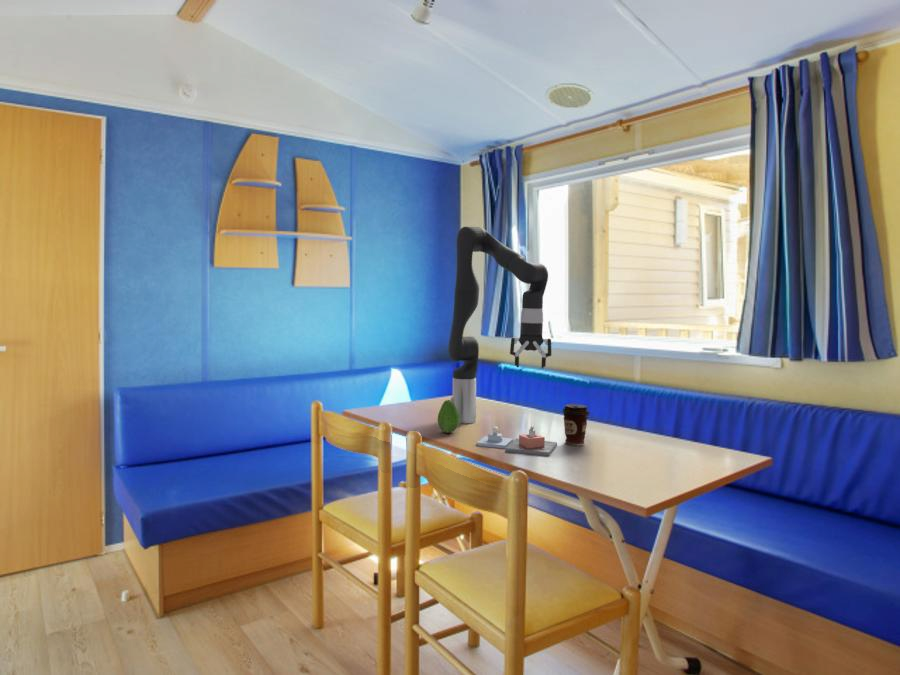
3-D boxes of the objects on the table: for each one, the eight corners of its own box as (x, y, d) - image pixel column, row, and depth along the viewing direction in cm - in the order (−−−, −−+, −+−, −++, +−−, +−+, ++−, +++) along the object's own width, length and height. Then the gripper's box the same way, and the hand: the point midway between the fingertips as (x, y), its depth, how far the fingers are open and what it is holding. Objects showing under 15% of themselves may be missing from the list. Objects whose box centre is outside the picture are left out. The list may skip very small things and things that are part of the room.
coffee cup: (572, 447, 201) (573, 408, 200) (556, 442, 209) (557, 404, 208) (592, 445, 205) (593, 406, 204) (576, 439, 213) (577, 402, 212)
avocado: (442, 435, 217) (442, 402, 216) (434, 431, 224) (434, 398, 223) (463, 434, 220) (463, 400, 219) (454, 429, 227) (455, 397, 226)
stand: (476, 445, 203) (476, 429, 203) (485, 438, 213) (485, 423, 212) (505, 448, 200) (505, 431, 200) (513, 441, 209) (513, 425, 209)
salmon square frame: (528, 448, 196) (528, 438, 196) (518, 443, 201) (519, 434, 201) (544, 446, 198) (544, 437, 198) (534, 442, 204) (534, 433, 204)
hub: (505, 451, 196) (505, 429, 195) (516, 441, 209) (516, 420, 208) (548, 456, 191) (549, 433, 191) (557, 445, 204) (557, 424, 204)
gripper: (510, 321, 210) (509, 368, 211) (552, 322, 208) (551, 370, 209) (511, 319, 217) (510, 365, 219) (552, 321, 215) (550, 367, 217)
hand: (530, 367), depth 214 cm, fingers open, 8 cm apart
